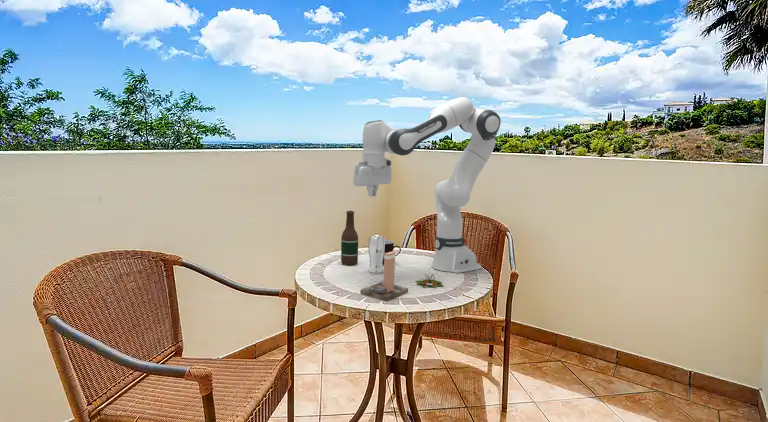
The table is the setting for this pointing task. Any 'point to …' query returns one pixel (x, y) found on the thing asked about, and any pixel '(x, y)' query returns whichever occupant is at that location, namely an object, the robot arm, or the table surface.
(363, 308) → the table surface
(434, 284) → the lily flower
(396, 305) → the table surface
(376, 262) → the beer glass
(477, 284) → the table surface
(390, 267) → the terracotta paddle
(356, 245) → the beer bottle
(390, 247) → the coffee mug
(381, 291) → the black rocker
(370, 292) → the walnut control box
